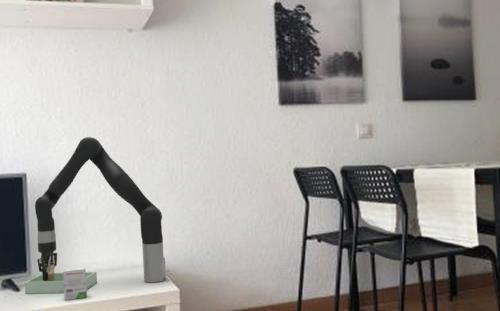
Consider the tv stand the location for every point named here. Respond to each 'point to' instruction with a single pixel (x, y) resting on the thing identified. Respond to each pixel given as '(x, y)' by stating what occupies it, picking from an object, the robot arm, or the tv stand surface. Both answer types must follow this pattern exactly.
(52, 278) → the beech cylinder
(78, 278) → the ink box
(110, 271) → the tv stand surface
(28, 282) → the tote
